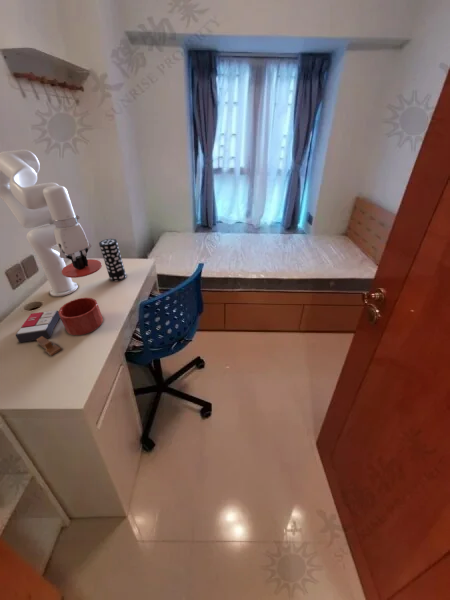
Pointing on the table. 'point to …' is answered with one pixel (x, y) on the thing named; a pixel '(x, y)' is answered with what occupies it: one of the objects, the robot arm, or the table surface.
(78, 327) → the pot
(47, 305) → the table surface
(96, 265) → the lid
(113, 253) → the white-spotted black cylinder
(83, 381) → the table surface
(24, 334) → the calculator
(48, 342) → the stepped wooden block pair
